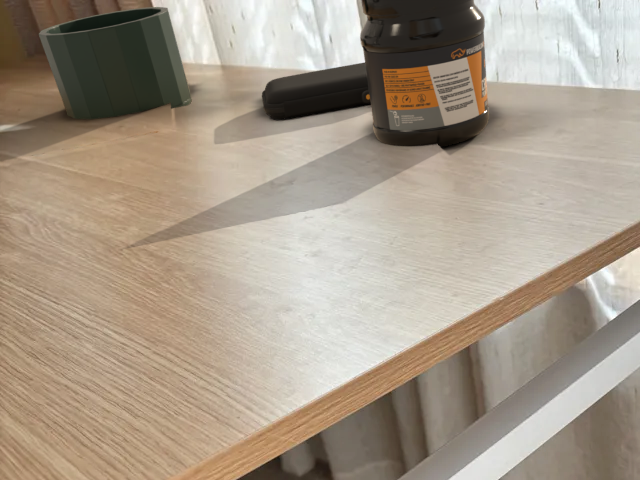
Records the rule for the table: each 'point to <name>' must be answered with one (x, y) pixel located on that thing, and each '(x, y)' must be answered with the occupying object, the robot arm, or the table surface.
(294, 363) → the table surface
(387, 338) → the table surface
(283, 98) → the carrying case
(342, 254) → the table surface
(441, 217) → the table surface
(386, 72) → the supplement container
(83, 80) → the tin
